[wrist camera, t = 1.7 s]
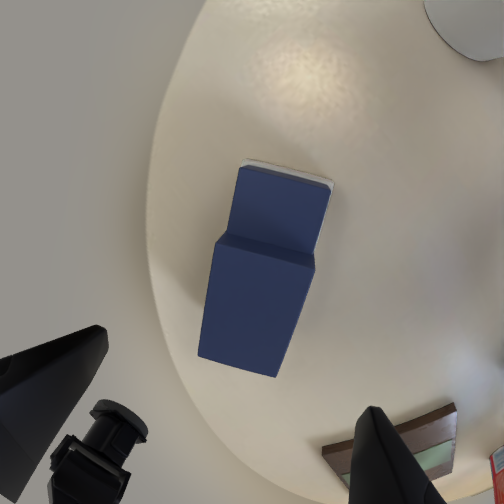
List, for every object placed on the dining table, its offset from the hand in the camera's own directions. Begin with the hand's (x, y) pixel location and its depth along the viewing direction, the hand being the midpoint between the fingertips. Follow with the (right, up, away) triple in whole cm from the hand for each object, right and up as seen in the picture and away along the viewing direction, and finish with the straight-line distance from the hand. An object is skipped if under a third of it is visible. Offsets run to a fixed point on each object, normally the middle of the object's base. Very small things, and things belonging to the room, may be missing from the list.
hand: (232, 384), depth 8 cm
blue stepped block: (+2, +4, +10) cm, 11 cm away
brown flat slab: (+18, -21, +16) cm, 32 cm away
